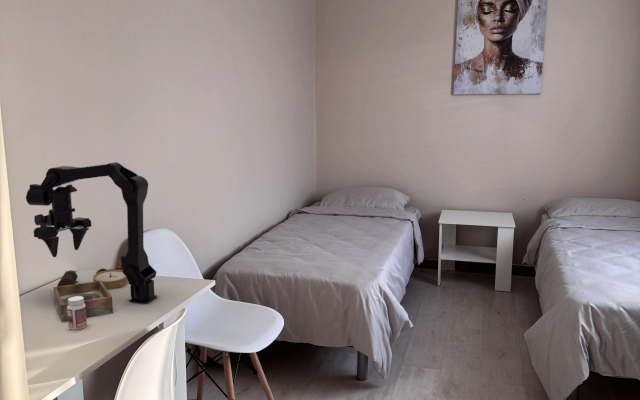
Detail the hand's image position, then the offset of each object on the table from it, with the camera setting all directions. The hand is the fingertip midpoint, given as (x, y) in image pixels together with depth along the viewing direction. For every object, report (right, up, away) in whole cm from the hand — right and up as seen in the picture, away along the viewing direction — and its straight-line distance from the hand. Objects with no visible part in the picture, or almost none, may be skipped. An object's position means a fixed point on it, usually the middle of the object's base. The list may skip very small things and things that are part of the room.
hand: (65, 253), depth 173 cm
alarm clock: (+9, -12, +15) cm, 21 cm away
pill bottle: (+14, -19, -23) cm, 33 cm away
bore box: (+9, -16, -9) cm, 20 cm away
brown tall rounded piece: (-4, -13, +12) cm, 18 cm away
